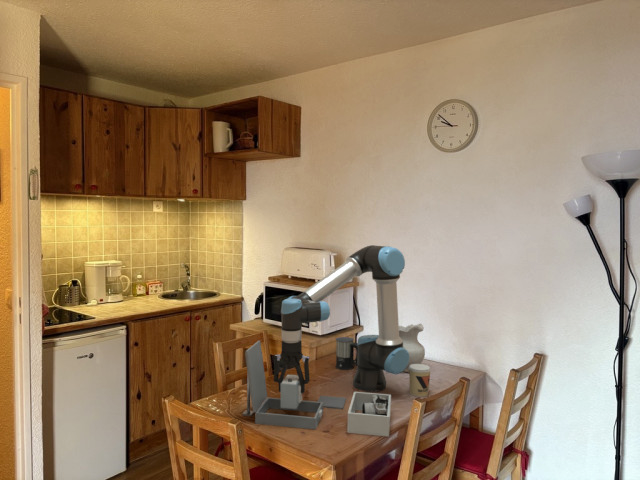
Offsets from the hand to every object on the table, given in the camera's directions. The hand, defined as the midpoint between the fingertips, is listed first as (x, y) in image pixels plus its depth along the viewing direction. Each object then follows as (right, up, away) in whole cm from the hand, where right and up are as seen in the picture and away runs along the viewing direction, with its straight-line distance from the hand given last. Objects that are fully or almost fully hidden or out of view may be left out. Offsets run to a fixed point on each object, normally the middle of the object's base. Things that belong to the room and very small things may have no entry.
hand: (291, 400), depth 179 cm
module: (0, -1, 0) cm, 1 cm away
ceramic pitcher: (+53, -5, +64) cm, 83 cm away
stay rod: (-17, -6, +3) cm, 18 cm away
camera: (+31, -8, -2) cm, 32 cm away
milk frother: (+26, -5, +66) cm, 71 cm away
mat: (+15, -6, +15) cm, 23 cm away
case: (-1, -7, 0) cm, 7 cm away
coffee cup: (+54, -7, +28) cm, 61 cm away
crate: (+30, -7, -2) cm, 30 cm away
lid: (-13, +9, +2) cm, 16 cm away
